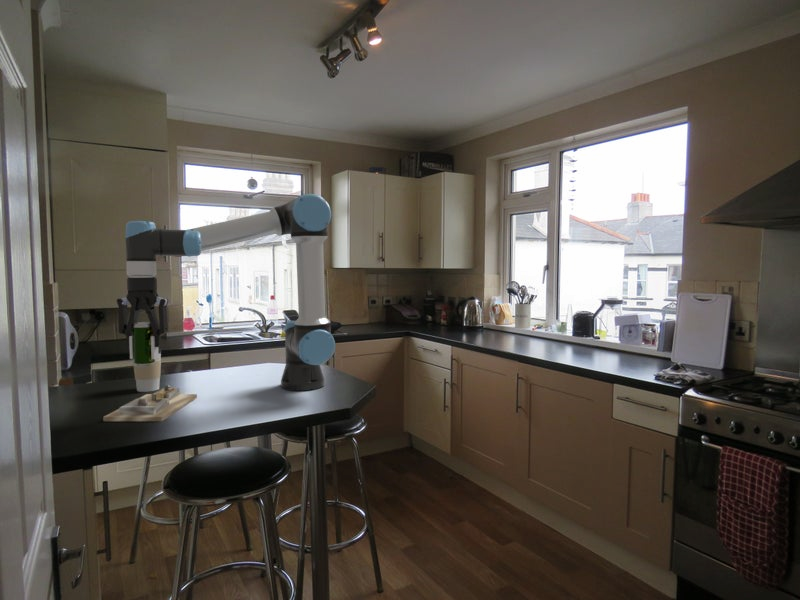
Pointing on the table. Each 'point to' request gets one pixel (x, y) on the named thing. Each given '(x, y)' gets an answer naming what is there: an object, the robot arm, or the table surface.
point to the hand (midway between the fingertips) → (144, 358)
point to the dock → (151, 407)
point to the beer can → (142, 344)
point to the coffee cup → (148, 375)
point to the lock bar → (164, 391)
